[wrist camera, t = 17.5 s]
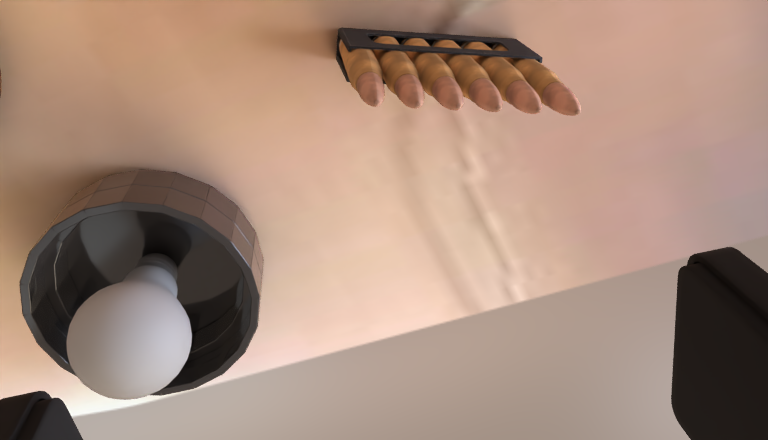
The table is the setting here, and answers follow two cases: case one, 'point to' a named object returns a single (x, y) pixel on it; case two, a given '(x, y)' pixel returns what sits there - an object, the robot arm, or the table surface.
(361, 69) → the ammunition clip
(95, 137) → the table surface
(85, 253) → the bowl
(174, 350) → the lightbulb
